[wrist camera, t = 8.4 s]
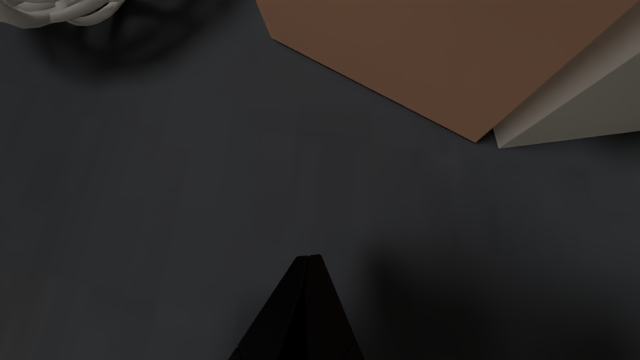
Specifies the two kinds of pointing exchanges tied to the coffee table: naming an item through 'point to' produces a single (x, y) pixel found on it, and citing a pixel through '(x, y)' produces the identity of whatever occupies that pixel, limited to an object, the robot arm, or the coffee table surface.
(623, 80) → the beige rectangular box
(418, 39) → the side door
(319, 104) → the coffee table surface
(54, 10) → the decorative ball
